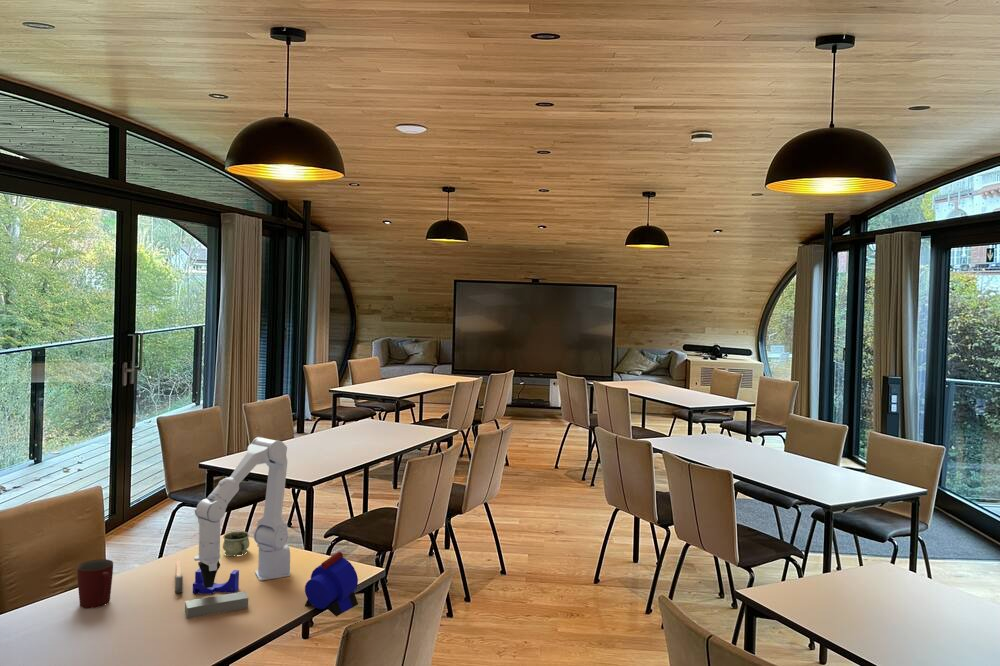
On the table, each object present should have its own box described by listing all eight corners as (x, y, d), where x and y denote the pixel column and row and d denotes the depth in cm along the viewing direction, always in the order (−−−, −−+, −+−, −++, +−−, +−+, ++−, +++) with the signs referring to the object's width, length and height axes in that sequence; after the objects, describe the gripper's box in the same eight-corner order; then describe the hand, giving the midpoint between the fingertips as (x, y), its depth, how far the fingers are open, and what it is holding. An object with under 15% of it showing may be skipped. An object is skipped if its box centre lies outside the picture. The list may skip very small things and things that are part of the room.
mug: (123, 605, 203) (124, 567, 203) (90, 616, 196) (91, 576, 196) (103, 593, 211) (104, 556, 210) (71, 603, 203) (71, 565, 203)
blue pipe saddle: (192, 593, 214) (193, 573, 213) (199, 587, 218) (199, 568, 218) (232, 595, 213) (233, 575, 213) (238, 589, 218) (239, 570, 218)
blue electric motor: (359, 603, 211) (361, 553, 210) (331, 619, 200) (333, 566, 200) (327, 594, 217) (329, 545, 216) (298, 609, 206) (299, 557, 205)
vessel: (257, 554, 247) (257, 536, 246) (233, 561, 240) (234, 542, 240) (238, 545, 254) (238, 528, 254) (214, 551, 247) (215, 533, 247)
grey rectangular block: (244, 601, 210) (244, 590, 209) (248, 608, 205) (248, 597, 205) (184, 611, 202) (184, 600, 201) (187, 618, 197) (187, 608, 197)
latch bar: (174, 573, 227) (174, 559, 226) (181, 572, 228) (181, 558, 227) (175, 593, 212) (175, 578, 212) (182, 592, 213) (182, 577, 213)
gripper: (191, 534, 213) (190, 579, 214) (198, 550, 201) (197, 598, 202) (216, 531, 217) (215, 576, 218) (225, 547, 204) (224, 594, 205)
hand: (208, 586), depth 210 cm, fingers closed
